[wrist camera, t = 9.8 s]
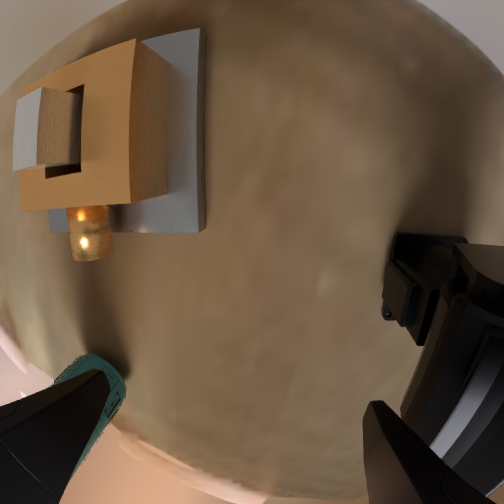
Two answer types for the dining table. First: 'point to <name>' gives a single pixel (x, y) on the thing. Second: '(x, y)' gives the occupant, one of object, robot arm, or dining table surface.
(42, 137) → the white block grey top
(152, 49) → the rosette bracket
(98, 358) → the beverage bottle
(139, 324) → the dining table surface
